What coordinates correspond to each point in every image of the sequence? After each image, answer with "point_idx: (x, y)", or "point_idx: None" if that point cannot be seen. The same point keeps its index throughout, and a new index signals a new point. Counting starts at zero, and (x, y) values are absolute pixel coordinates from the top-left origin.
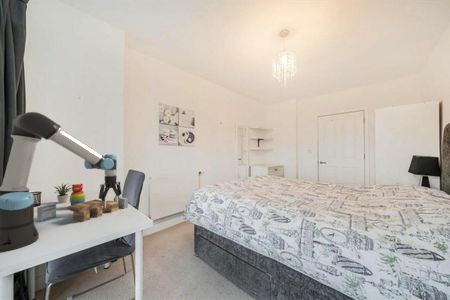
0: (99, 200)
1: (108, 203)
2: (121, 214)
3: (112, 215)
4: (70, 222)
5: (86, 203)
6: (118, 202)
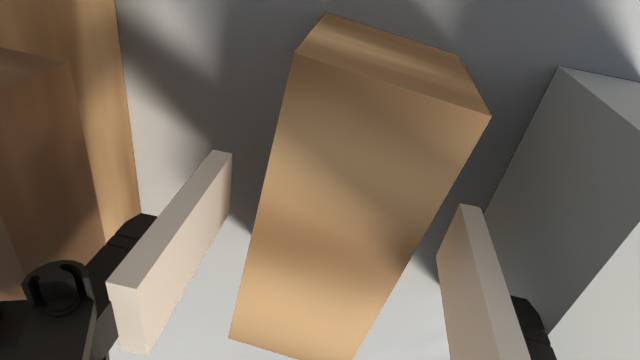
0: (9, 278)
1: (254, 264)
2: (256, 353)
3: (200, 304)
4: None
5: None
6: (518, 252)
